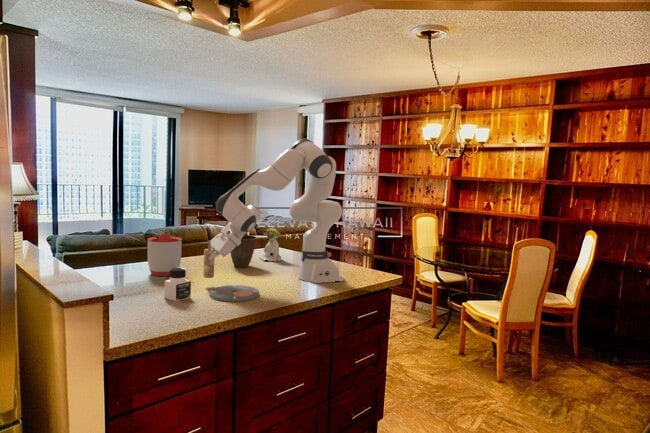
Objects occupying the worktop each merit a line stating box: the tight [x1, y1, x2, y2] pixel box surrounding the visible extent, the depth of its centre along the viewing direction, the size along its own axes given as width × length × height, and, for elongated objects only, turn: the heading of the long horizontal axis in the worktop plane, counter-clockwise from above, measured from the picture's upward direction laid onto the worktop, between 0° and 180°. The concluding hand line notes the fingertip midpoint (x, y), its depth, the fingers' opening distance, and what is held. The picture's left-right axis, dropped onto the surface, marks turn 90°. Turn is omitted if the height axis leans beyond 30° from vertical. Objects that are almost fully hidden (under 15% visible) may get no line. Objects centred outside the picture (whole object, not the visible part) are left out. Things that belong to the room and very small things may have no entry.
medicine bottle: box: [163, 266, 192, 303], centre depth 165 cm, size 7×7×12 cm
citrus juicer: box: [146, 232, 183, 277], centre depth 201 cm, size 16×17×20 cm
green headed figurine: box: [259, 227, 282, 263], centre depth 245 cm, size 12×13×18 cm
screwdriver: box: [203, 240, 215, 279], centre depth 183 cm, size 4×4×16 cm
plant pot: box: [229, 234, 258, 269], centre depth 224 cm, size 15×15×16 cm
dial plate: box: [209, 284, 260, 303], centre depth 174 cm, size 20×20×1 cm
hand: (207, 257), depth 182 cm, fingers closed on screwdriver, 4 cm apart
